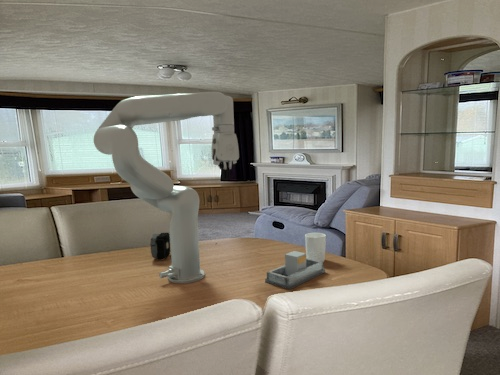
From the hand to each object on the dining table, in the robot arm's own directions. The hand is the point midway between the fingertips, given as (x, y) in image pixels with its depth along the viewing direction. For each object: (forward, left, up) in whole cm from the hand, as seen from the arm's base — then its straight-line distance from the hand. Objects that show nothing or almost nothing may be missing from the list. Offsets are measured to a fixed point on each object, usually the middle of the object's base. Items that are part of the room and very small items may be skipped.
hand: (225, 179), depth 136 cm
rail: (+4, -29, -32) cm, 43 cm away
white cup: (+23, -24, -32) cm, 46 cm away
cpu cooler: (-13, +27, -32) cm, 44 cm away
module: (+4, -29, -31) cm, 43 cm away
